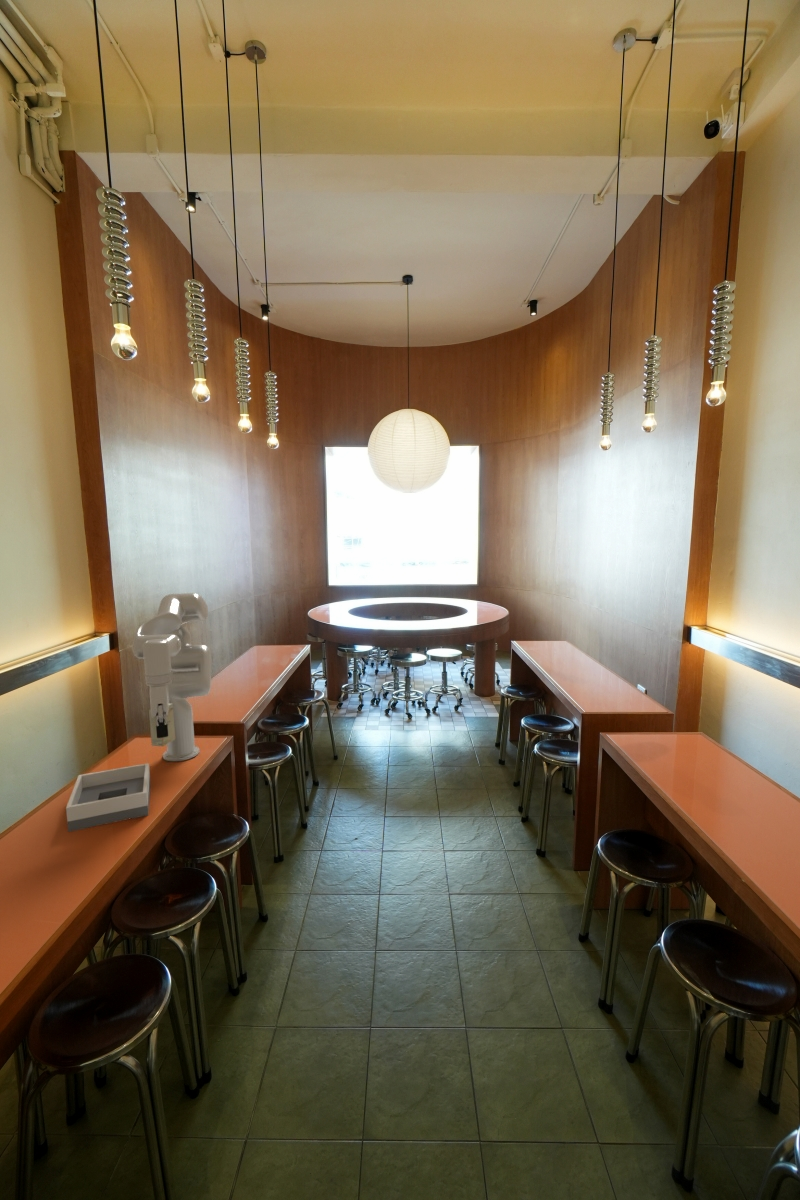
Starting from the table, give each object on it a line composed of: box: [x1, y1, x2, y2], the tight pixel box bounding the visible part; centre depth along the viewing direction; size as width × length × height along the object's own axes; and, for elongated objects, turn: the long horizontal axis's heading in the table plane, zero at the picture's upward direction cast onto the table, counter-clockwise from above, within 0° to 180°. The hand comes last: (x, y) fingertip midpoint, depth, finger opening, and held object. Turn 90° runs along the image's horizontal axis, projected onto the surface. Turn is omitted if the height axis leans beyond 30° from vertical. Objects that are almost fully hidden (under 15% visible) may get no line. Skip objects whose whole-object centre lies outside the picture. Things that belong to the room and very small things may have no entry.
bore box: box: [65, 762, 151, 833], centre depth 157 cm, size 22×20×7 cm
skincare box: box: [148, 703, 175, 747], centre depth 164 cm, size 6×4×12 cm
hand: (162, 732), depth 164 cm, fingers closed on skincare box, 7 cm apart
